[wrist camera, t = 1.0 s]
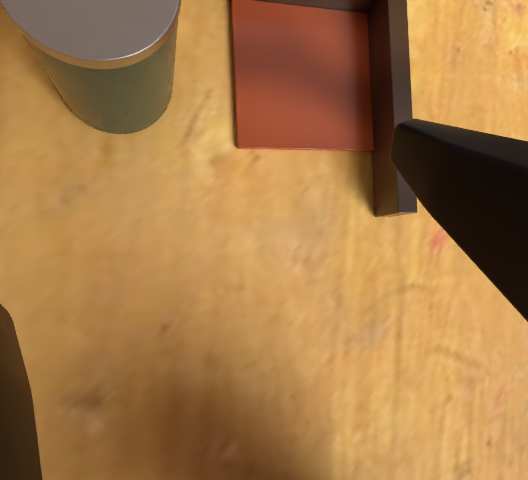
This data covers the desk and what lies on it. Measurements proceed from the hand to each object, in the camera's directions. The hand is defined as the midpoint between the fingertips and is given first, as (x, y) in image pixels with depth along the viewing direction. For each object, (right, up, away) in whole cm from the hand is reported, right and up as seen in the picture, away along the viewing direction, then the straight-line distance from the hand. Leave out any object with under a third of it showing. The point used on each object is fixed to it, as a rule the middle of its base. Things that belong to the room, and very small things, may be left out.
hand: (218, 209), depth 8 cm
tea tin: (-7, +8, +13) cm, 16 cm away
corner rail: (+3, +7, +15) cm, 17 cm away
